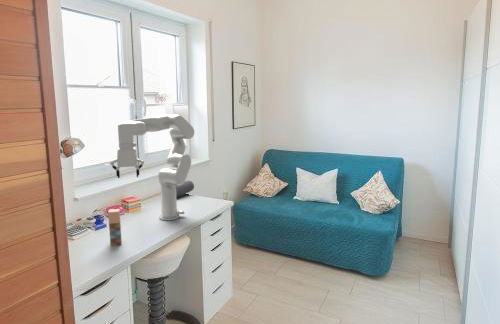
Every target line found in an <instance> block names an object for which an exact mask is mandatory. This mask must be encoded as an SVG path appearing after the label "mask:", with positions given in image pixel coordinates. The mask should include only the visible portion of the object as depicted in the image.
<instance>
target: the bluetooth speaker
mask: <svg viewBox="0 0 500 324" xmlns="http://www.w3.org/2000/svg"><path fill="white" fill-rule="evenodd" d="M175 187H176V198H179V197H183V196H185V195H186V194H188V193H190V192H192V191H194V188H195V185H194V183H193V181H192V180H185V182H184V183H183V184H182V185H175Z"/></svg>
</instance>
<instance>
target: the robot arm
mask: <svg viewBox="0 0 500 324" xmlns="http://www.w3.org/2000/svg"><path fill="white" fill-rule="evenodd" d="M168 129H169V136H170V137H171V141H172V145H171V148H170V151H169V153H168V156H167V158H166V165H167V166H168V167H169V168H168V167H167V168H166V167H164V168H162V169H160V170H159V171H158V181H159V186H160V202H161V203H160V204H161V205H160V206H161V207H160V208H161V214H159V217H158V219H160V220H162V221H173V220H178V219H179V218H180V216H181V215H185V210H182V209H181V210H178V205H177V200H178V199H177V198H178V197H176V187H175V185H182V184H183V183H184V182H185V181H187V177H188V174H189V171H190V170H191V166H192V159H191V156H190V155H189V154H187V153H185V151H186V143H185V141H184V140H185V139H186V140H190V139H192V138H193V137H194V135H195V129H194V127H193V126H192V124H191V123H190V122H189V121H188V120H187V119H185V117H183V116H182V115H180V114H162V115H159V116H157V115H156V116H153V117H152V116H151V117H144V118H137V119H132V120H127V121H125V122H120V123H119V122H118V124H117V133H118V148H117V155H116V158H115V160H113V161H110V163H109V164H110V166H111V167H112V169H113V170H115V172H116V177H117V178H118V179H120V177H121V175H120V174H121V173H120V168H129V167H130V168H135V170H136V178H139V176H140V169H141V168H142V167H143V165H144V163H145V161H144V160H142V159H140V158H138V154H137V148H136V147H137V143H135V141H134V136H144V135H145V134H146V133H147V132H148V133H149V132H150V133H153V132H154V133H155V132H160V131H164V130H168ZM138 162H139V163H140V164H139V165H138ZM115 164H117V166H115Z"/></svg>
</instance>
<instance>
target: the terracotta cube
mask: <svg viewBox="0 0 500 324" xmlns="http://www.w3.org/2000/svg"><path fill="white" fill-rule="evenodd" d="M120 210H121V209H120V208H112V209H110V208H109V210H108V213H107V214H108V225H109V224H112V223H120V224H121V213H120Z"/></svg>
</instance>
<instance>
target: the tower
mask: <svg viewBox="0 0 500 324" xmlns="http://www.w3.org/2000/svg"><path fill="white" fill-rule="evenodd" d="M108 227H109V228H108V229H109V242H110V247H114V246H115V247H116V246H121V245H122V242H123V241H122V240H123V239H122V226H121V222H120V223H112V224H109V223H108Z"/></svg>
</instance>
